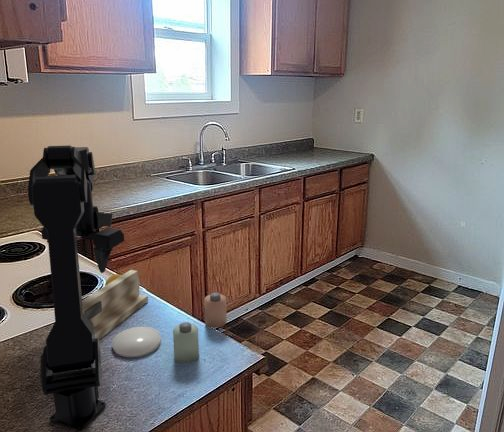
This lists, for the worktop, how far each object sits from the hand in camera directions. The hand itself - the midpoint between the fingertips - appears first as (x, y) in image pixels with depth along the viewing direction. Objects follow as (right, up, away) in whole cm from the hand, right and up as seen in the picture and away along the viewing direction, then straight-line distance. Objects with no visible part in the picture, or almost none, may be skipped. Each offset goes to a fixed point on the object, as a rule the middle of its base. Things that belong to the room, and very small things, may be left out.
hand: (86, 269), depth 100 cm
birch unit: (+6, -12, +2) cm, 13 cm away
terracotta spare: (+30, -12, +1) cm, 32 cm away
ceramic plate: (+14, -15, -8) cm, 22 cm away
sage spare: (+25, -16, -12) cm, 32 cm away
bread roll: (+3, -8, +18) cm, 20 cm away
